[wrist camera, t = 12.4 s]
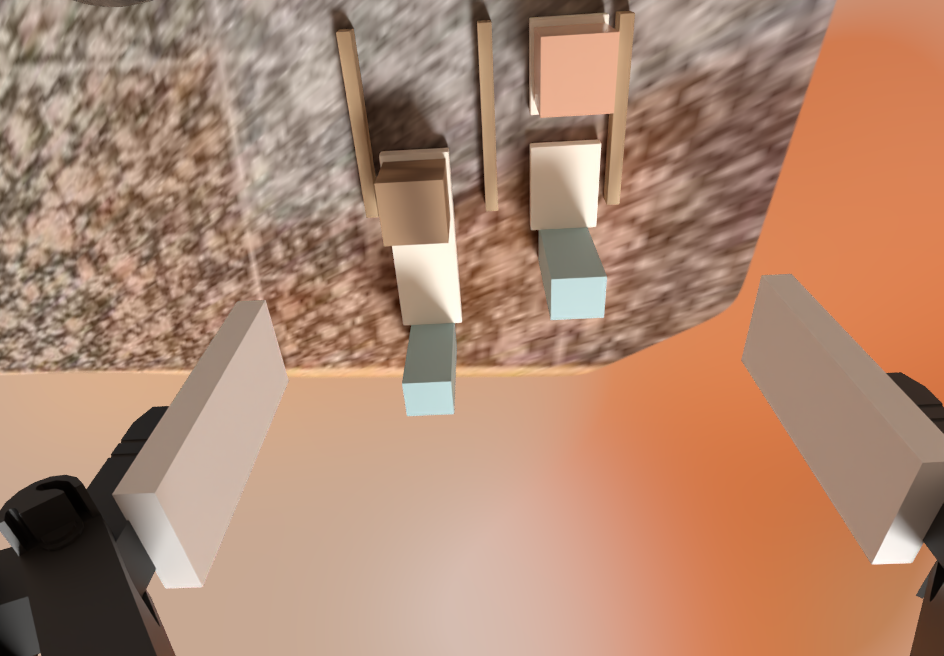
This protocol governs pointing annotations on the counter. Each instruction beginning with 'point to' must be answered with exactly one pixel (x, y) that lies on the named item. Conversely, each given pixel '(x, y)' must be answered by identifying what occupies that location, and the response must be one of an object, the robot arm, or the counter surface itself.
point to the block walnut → (413, 202)
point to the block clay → (575, 69)
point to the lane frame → (486, 113)
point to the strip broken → (566, 207)
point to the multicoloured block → (429, 308)
